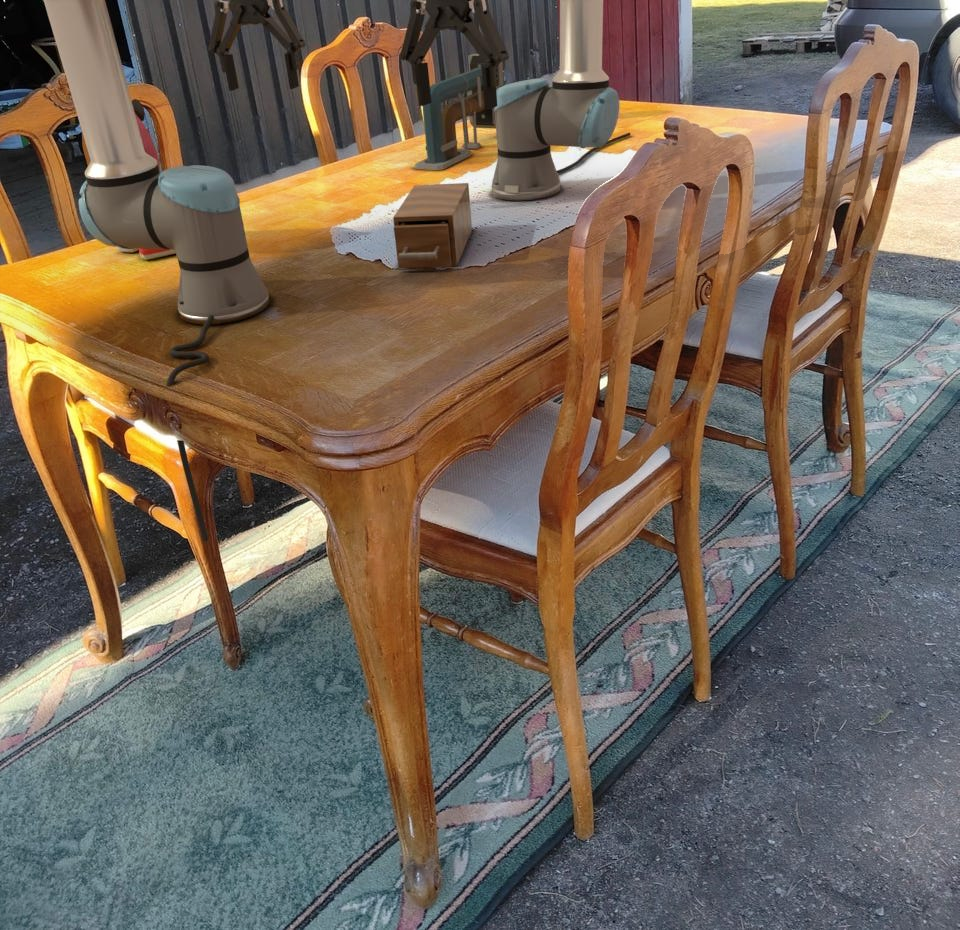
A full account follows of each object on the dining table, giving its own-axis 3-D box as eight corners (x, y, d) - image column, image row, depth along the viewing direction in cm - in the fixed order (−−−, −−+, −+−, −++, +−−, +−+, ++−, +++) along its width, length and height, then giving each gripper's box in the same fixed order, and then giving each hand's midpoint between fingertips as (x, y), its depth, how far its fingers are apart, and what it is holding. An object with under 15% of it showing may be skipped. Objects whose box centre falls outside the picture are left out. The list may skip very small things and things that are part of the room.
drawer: (446, 276, 169) (442, 234, 165) (393, 278, 171) (387, 236, 167) (466, 232, 191) (462, 193, 187) (418, 233, 192) (414, 195, 188)
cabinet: (457, 265, 176) (452, 215, 172) (399, 267, 178) (393, 217, 173) (472, 229, 195) (468, 182, 190) (419, 231, 196) (414, 185, 191)
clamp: (441, 170, 238) (433, 78, 227) (411, 168, 242) (401, 78, 231) (506, 137, 263) (501, 53, 253) (478, 136, 267) (472, 53, 257)
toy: (201, 251, 195) (166, 95, 180) (157, 266, 189) (116, 105, 173) (147, 235, 208) (109, 88, 193) (104, 248, 202) (61, 97, 187)
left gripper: (311, -35, 184) (328, 83, 195) (196, -27, 191) (218, 86, 201) (293, -32, 178) (312, 90, 188) (175, -24, 185) (200, 93, 195)
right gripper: (369, -30, 156) (386, 107, 167) (498, -35, 143) (507, 114, 154) (397, -36, 161) (412, 98, 172) (525, -41, 148) (532, 104, 159)
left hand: (264, 88), depth 195 cm, fingers open, 13 cm apart
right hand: (457, 106), depth 163 cm, fingers open, 13 cm apart
